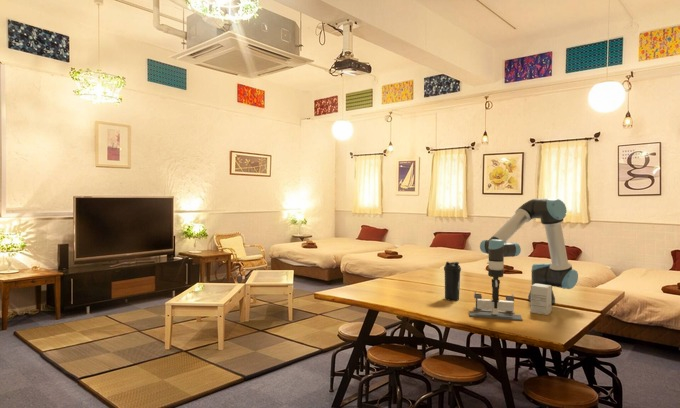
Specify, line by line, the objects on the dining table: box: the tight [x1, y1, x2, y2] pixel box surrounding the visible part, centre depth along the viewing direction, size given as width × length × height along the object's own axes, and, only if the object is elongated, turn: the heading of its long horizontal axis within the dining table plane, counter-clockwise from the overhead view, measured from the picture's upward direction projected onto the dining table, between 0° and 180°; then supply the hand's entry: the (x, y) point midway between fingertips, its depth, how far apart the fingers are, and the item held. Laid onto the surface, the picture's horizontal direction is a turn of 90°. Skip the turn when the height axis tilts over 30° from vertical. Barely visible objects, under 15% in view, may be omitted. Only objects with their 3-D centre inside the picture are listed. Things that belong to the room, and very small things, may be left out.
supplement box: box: [529, 283, 553, 316], centre depth 243 cm, size 9×9×15 cm
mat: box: [468, 310, 524, 322], centre depth 233 cm, size 26×9×1 cm, turn 74°
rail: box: [477, 298, 515, 312], centre depth 233 cm, size 18×4×4 cm, turn 74°
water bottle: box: [443, 261, 462, 302], centre depth 272 cm, size 10×10×23 cm
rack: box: [473, 291, 515, 315], centre depth 244 cm, size 21×6×10 cm, turn 74°
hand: (495, 313), depth 233 cm, fingers closed on rail, 3 cm apart
